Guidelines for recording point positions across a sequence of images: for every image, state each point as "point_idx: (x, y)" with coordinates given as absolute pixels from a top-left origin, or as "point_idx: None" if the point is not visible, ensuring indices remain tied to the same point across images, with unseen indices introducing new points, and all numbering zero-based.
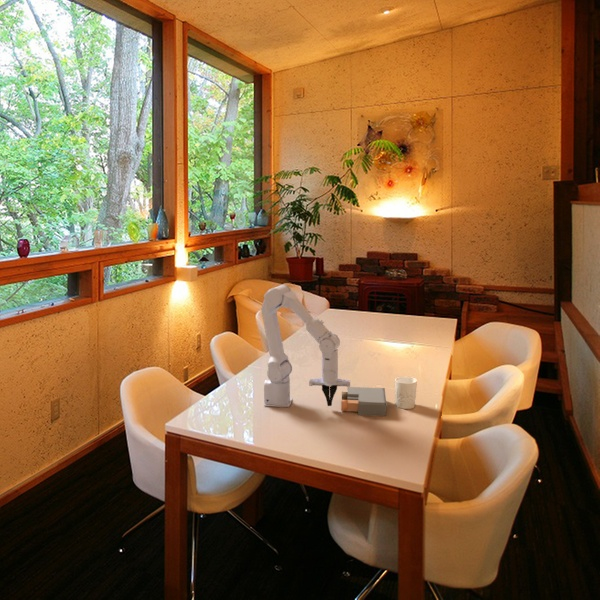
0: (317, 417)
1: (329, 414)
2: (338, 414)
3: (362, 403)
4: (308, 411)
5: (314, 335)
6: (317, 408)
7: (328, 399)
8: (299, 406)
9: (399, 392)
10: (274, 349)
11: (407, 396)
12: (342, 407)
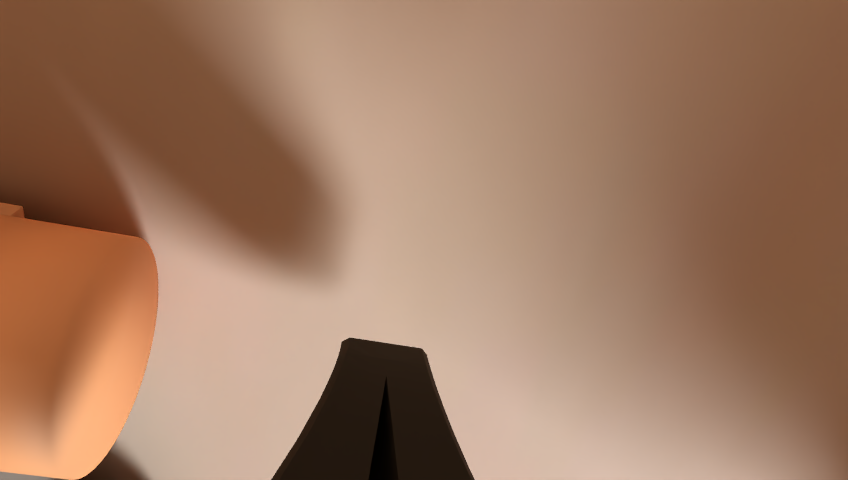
0: (706, 7)
1: (408, 140)
2: (217, 121)
3: None
4: (764, 301)
5: None
6: (573, 387)
7: (411, 462)
8: (817, 461)
9: None
10: None
11: None
12: (79, 249)
